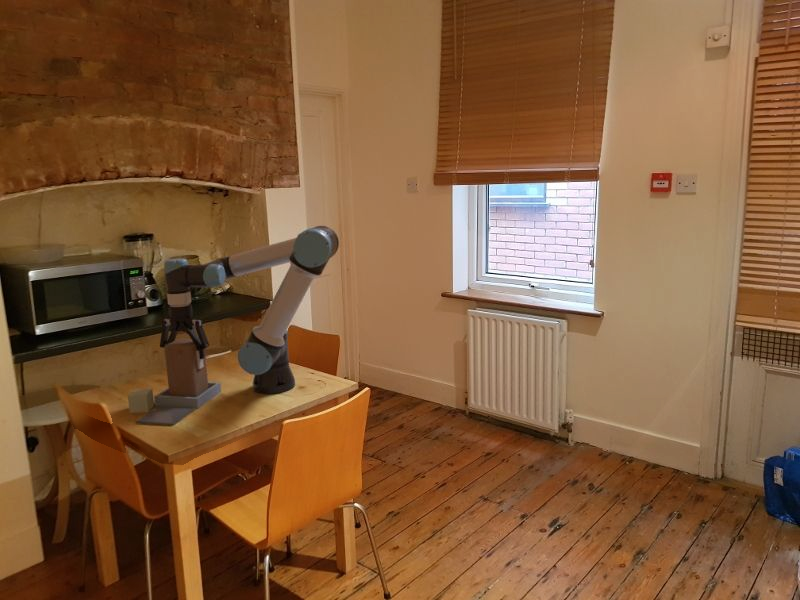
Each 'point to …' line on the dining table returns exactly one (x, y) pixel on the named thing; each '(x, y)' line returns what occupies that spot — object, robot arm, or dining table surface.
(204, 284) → the robot arm
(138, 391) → the sage cube
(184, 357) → the wooden block
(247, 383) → the dining table surface
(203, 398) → the blue square frame
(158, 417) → the plate
